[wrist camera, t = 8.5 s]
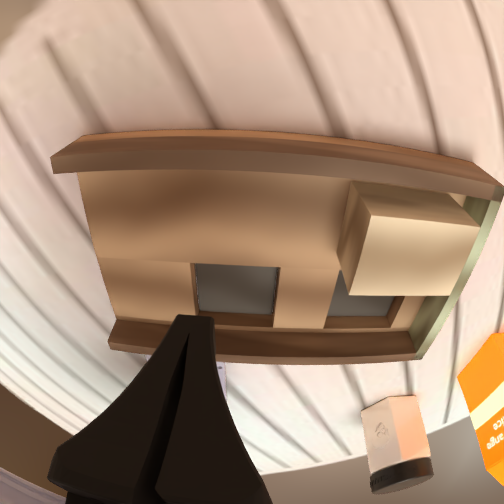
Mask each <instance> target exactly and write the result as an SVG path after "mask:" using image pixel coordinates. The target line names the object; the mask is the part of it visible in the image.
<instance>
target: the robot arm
mask: <svg viewBox="0 0 504 504" xmlns="http://www.w3.org/2000/svg"><path fill="white" fill-rule="evenodd" d="M215 357H216V341H215V322H214V318H212V317H210V316H197V315H184V314H178V315H177V316H176V317H175V319H174V321H173V322H172V324H171V326H170V328H169V329H168V331H167V333H166V334H165V336H164V338H163V339H162V341H161V342H160V344H159V345H158V347H157V348H156V350H155V351H154V353H153V354H152V355H145V358H146V361H147V363H146V364H145V365H144V367H143V368H142V369H141V371H140V372H139V373H138V375H137V376H136V377H135V378H134V380H133V381H132V382H131V383H130V384H129V386H128V387H127V388H126V389H125V390H124V391H123V392H122V393H121V394H120V396H119V397H118V398H117V399H116V400H115V401H114V402H113V403H112V404H111V405H110V406H109V407H108V408H107V409H106V410H105V411H104V412H102V413H101V414H100V415H99V416H98V417H97V418H96V419H94V420H93V421H92V422H91V423H90V424H88V425H87V426H86V427H85V428H84V429H82V430H81V431H80V432H79V433H77V434H76V435H74V436H73V437H71V438H70V439H69V440H67V441H66V442H64V443H63V444H61V445H60V446H59V447H57V450H56V452H55V454H54V456H53V459H52V462H51V466H50V469H49V472H48V476H47V478H48V480H49V481H50V482H52V483H53V484H56V485H57V486H59V487H61V488H63V489H64V490H66V491H68V493H67V497H66V498H65V497H62V496H60V495H57V494H55V493H52V492H50V491H48V490H45V489H43V488H41V487H38V486H36V485H34V484H32V483H30V482H28V481H26V480H24V479H22V478H20V477H17V476H16V475H14V474H12V473H10V472H8V471H6V470H4V469H3V468H1V467H0V504H273V503H272V501H271V498H270V496H269V493H268V491H267V489H266V487H265V484H264V482H263V480H262V478H261V476H260V474H259V473H258V471H257V469H256V468H255V466H254V464H253V462H252V460H251V458H250V456H249V454H248V452H247V451H246V449H245V446H244V444H243V442H242V440H241V438H240V435H239V433H238V431H237V429H236V426H235V424H234V421H233V419H232V416H231V414H230V411H229V408H228V405H227V397H226V376H225V362H216V358H215Z"/></svg>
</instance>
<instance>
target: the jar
mask: <svg viewBox="0 0 504 504" xmlns="http://www.w3.org/2000/svg"><path fill="white" fill-rule="evenodd" d="M361 417H362V423H363V429H364V436H365V442H366V449H367V455H368V462H369V470H370V474H371V476H370V487H371V489H372V493H373V494H386V493H391V492H396V491H400V490H403V489H406V488H410V487H412V486H415V485H418V484H420V483H423V482H425V481H427V480H428V479H430V478H432V477H433V475H434V474H433V469H432V465H431V459H430V456H431V453H430V448H429V444H428V440H427V436H426V432H425V428H424V424H423V420H422V416H421V412H420V409H419V405H418V401H417V398H416V396H415V395H413V396H399V397H387V398H385V399H384V400H382V401H380V402H378V403H376V404H374V405H372V406H370V407H368V408H366V409H364V410H362V411H361Z"/></svg>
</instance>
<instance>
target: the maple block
mask: <svg viewBox="0 0 504 504" xmlns="http://www.w3.org/2000/svg"><path fill="white" fill-rule="evenodd" d="M480 228H481V227H480V226H479V225H478V224H477V223H476V222H475V221H474V219H473V218H472V217H471V216H470V215H469V214H468V213H467V212H466V211H465V210H464V209H463V208H462V207H461V206H460V205H459V204H458V203H457V202H456V201H455V200H454V199H453V198H452V197H451V196H450V195H449V194H443V193H437V192H430V191H424V190H417V189H410V188H403V187H395V186H388V185H380V184H371V183H362V182H353V181H351V185H350V190H349V195H348V200H347V205H346V210H345V215H344V220H343V225H342V229H341V234H340V238H339V243H338V247H337V252H336V254H337V257H338V260H339V263H340V267H341V270H342V273H343V277H344V280H345V283H346V287H347V290H348V294H349V295H367V296H450V294H451V292H452V290H453V288H454V286H455V284H456V282H457V280H458V278H459V276H460V274H461V272H462V269H463V267H464V265H465V263H466V261H467V259H468V256H469V254H470V252H471V249H472V247H473V245H474V242H475V240H476V238H477V235H478V233H479V230H480Z"/></svg>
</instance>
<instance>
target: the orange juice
mask: <svg viewBox="0 0 504 504" xmlns="http://www.w3.org/2000/svg"><path fill="white" fill-rule="evenodd" d="M457 378H458V381H459V383H460V386H461V389H462V392H463V394H464V397H465V400H466V403H467V406H468V409H469V412H470V416H471V419H472V422H473V426H474V429H475V431H476V434H477V437H478V441H479V444H480V448H481V451H482V455H483V459H484V463H485V467H486V471H488V472H490V473H491V474H492V475H493V476H494V477H495V478H496V479H497V480H498V481H499V482H500V483H501V484H502V485H503V486H504V333H495V334H491V336H490V337H489V338H488V340H487V341H486V342H485V344H484V345H483V346H482V347H481V349H480V350H479V351H478V352H477V354H476V355H475V356H474V357H473V359H472V360H471V361H470V362H469V363H468V365H467V366H466V367H465V368H464V369H463V371H462V372H461V373H460V374H459V375H458V376H457Z"/></svg>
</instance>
